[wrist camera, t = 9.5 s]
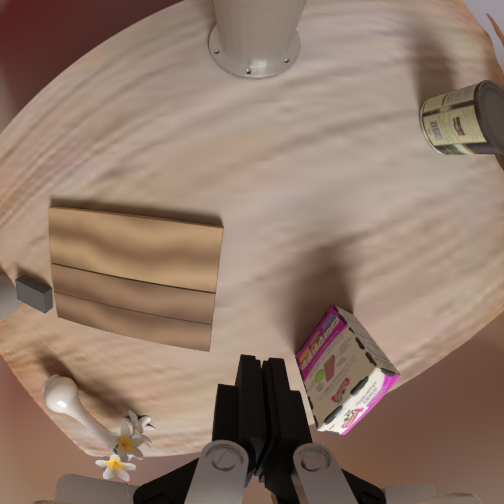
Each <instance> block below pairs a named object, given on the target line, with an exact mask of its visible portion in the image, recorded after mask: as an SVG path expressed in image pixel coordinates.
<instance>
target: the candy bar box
mask: <svg viewBox="0 0 504 504" xmlns="http://www.w3.org/2000/svg"><path fill="white" fill-rule="evenodd" d="M295 358H296V361H297V364H298V367H299V371H300V374H301V377H302V380H303V384H304V387H305V390H306V394H307V397H308V400H309V404H310V407H311V410H312V413H313V417H314V420H315V423H316V427H317V430H318V431H324V432H330V433H337V434H341V435H345V434H346V433H347V432H348V431H349V430H350V429H351V428H352V427H353V426H354V425H355V424H356V423H357V422H358V421H360V420H361V419H362V418H363V417H364V416H365V415H366V414H367V413H368V412H369V410H371V409H372V407H373V406H374V405H375V404H376V403H377V402H378V401H379V400H380V399H381V398H382V397H383V396H384V395H385V394H386V393H387V391H388V390H389V389H390V388H391V387H392V386H393V385H394V383H395V382H396V381H397V380H398V379H399V378H400V376H401V375H400V374H399V372H398V371H397V370H396V368H395V367H394V366H393V364H392V363H391V362H390V361H389V359H388V358H387V357H386V355H385V354H384V353H383V351H382V350H381V349H380V347H379V346H378V345H377V344H376V342H375V341H374V340H373V338H372V337H371V336H370V335H369V333H368V332H367V331H366V330H365V328H364V327H363V326H362V324H361V323H360V322H359V321H358V319H357V318H356V317H355V316H354V315H353V314H351V313H349V312H347V311H345V310H343V309H341V308H340V307H338V306H336V305H334V304H332V305H331V307H330V308H329V310H328V311H327V312H326V314H325V315H324V317H323V318H322V320H321V321H320V323H319V324H318V326H317V327H316V329H315V330H314V332H313V333H312V334H311V336H310V337H309V338H308V340H307V341H306V343H305V344H304V345H303V347H302V348H301V349H300V351H299V352H298V353H297V355H296V356H295Z"/></svg>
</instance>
